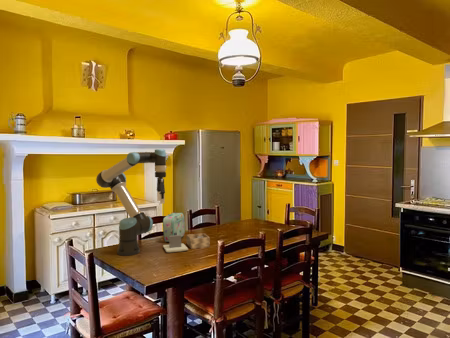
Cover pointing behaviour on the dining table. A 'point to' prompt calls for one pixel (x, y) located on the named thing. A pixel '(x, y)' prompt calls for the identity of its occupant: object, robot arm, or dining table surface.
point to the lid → (175, 244)
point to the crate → (198, 241)
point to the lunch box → (173, 225)
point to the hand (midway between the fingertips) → (160, 202)
